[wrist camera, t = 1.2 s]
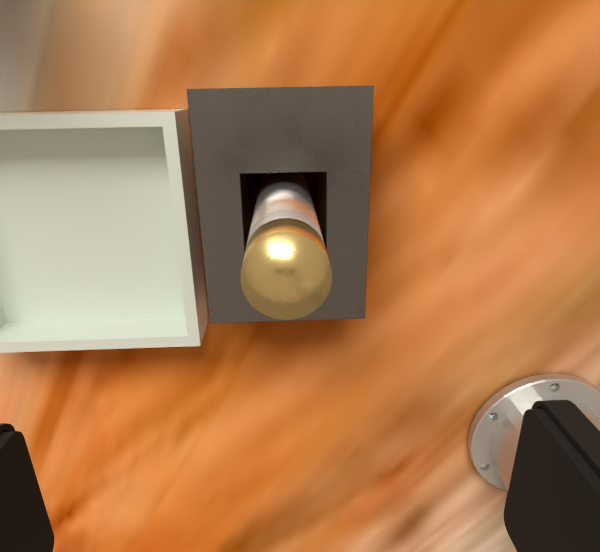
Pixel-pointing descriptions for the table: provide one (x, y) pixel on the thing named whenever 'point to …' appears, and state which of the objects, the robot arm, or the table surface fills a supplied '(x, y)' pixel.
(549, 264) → the table surface
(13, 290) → the tray
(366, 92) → the hitch block
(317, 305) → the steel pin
